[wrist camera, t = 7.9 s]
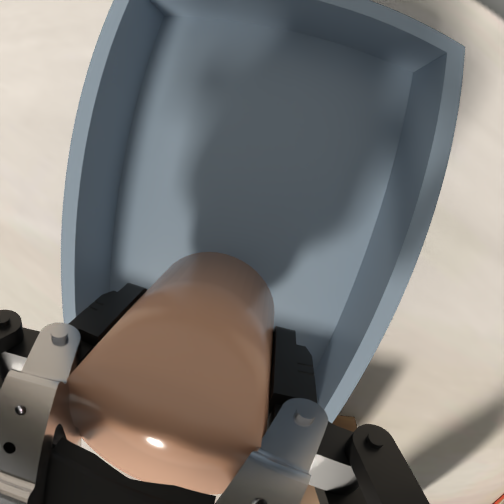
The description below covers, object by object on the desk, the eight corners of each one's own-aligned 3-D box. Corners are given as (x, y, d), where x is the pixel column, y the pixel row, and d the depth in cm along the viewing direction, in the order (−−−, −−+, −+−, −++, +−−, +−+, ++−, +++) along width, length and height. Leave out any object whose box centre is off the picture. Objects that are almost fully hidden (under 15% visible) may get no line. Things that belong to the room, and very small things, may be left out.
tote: (424, 68, 11) (465, 46, 7) (316, 388, 16) (321, 438, 13) (159, 8, 11) (126, -26, 7) (102, 326, 17) (69, 362, 13)
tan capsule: (290, 271, 11) (296, 411, 5) (256, 369, 13) (237, 507, 6) (164, 237, 11) (48, 328, 5) (152, 339, 13) (78, 453, 6)
